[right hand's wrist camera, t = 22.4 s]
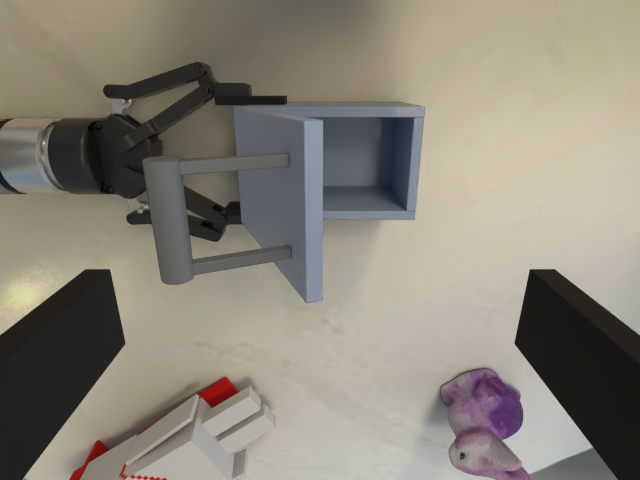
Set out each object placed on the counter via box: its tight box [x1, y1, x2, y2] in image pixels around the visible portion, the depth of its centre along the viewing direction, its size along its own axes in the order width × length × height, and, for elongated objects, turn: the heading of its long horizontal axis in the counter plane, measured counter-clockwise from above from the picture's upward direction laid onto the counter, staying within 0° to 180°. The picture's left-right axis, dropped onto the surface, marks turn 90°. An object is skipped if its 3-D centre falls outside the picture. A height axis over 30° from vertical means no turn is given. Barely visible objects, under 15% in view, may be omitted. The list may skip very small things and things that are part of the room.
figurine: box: [440, 369, 532, 480], centre depth 51 cm, size 9×10×15 cm
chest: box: [241, 102, 425, 220], centre depth 41 cm, size 16×10×11 cm, turn 90°
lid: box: [142, 107, 323, 303], centre depth 27 cm, size 16×10×8 cm
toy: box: [69, 377, 275, 480], centre depth 56 cm, size 12×13×30 cm
